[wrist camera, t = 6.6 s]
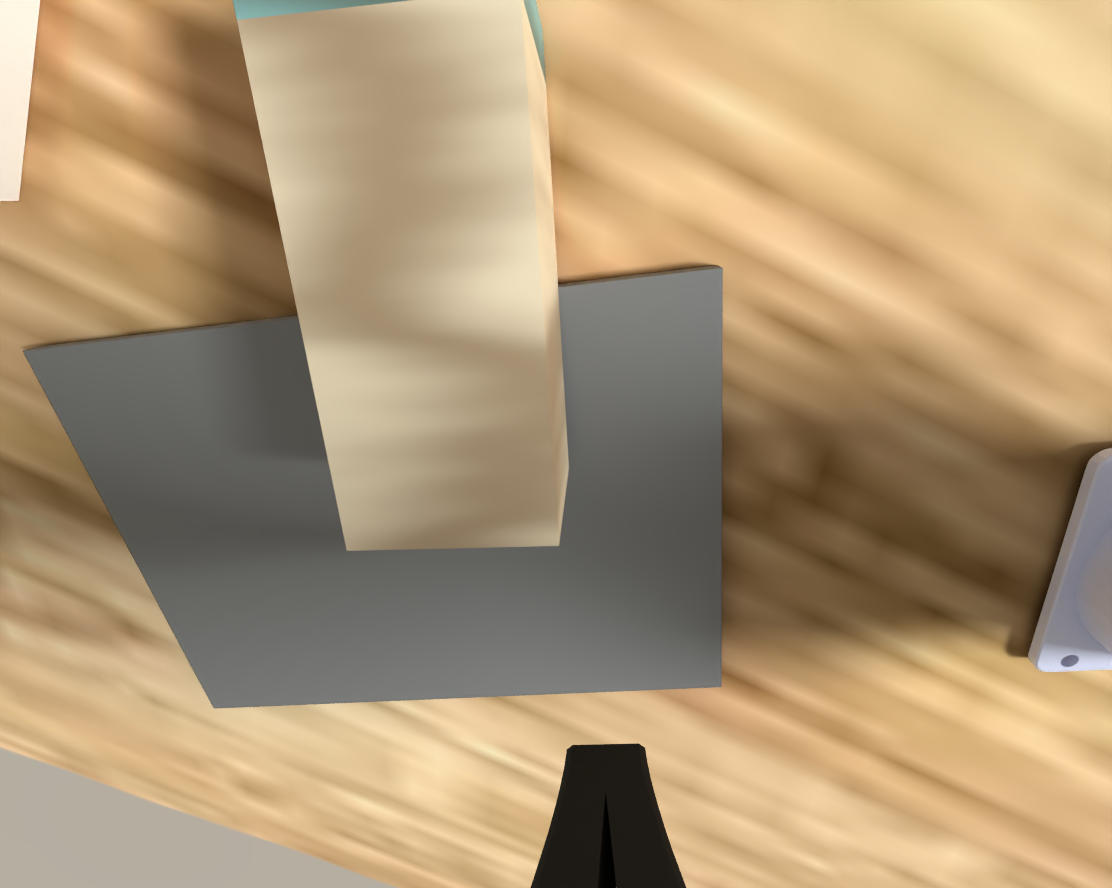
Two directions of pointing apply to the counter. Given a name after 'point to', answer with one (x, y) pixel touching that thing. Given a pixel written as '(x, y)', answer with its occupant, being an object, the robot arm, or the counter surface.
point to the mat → (415, 574)
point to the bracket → (15, 88)
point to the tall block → (420, 259)
